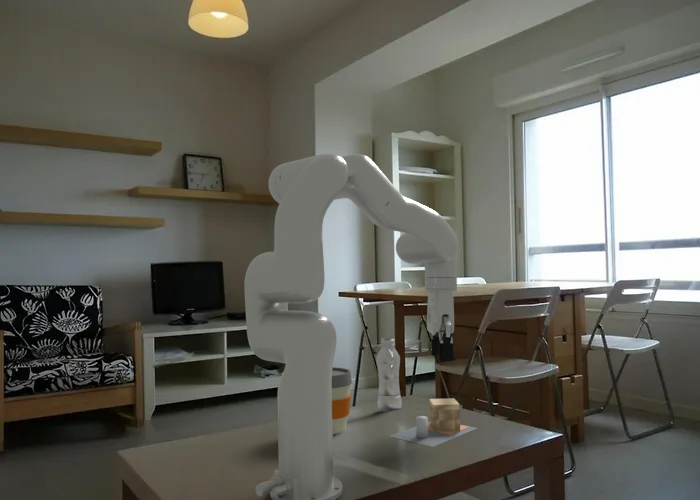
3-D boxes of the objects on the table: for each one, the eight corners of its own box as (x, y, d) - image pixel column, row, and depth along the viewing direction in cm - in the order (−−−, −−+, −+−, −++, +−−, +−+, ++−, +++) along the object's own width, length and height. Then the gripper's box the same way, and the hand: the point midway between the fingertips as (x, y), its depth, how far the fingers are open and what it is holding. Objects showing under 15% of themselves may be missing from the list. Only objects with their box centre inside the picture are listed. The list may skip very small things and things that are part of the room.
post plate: (433, 454, 114) (432, 426, 114) (388, 442, 122) (388, 417, 122) (477, 434, 127) (477, 409, 127) (435, 425, 135) (434, 402, 135)
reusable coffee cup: (361, 439, 125) (359, 373, 126) (309, 446, 121) (307, 378, 121) (341, 425, 137) (340, 365, 138) (293, 431, 132) (292, 369, 133)
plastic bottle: (400, 415, 145) (398, 340, 146) (375, 414, 147) (374, 340, 147) (403, 409, 152) (401, 337, 152) (379, 409, 153) (377, 337, 154)
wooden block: (434, 431, 125) (433, 404, 125) (430, 424, 131) (429, 399, 131) (460, 430, 125) (459, 404, 125) (455, 423, 131) (454, 398, 131)
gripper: (419, 285, 138) (420, 353, 137) (431, 285, 121) (432, 363, 119) (449, 285, 138) (450, 353, 137) (465, 285, 121) (466, 363, 120)
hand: (441, 358), depth 128 cm, fingers open, 9 cm apart
